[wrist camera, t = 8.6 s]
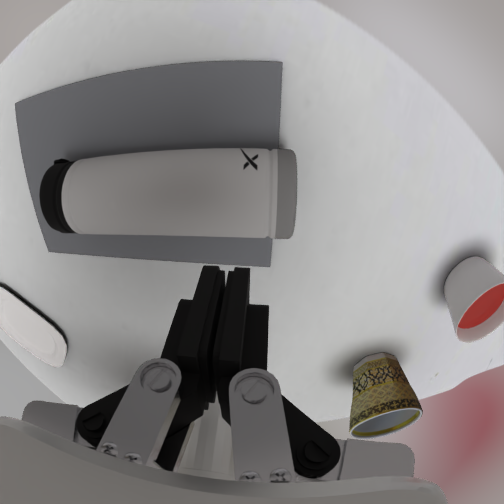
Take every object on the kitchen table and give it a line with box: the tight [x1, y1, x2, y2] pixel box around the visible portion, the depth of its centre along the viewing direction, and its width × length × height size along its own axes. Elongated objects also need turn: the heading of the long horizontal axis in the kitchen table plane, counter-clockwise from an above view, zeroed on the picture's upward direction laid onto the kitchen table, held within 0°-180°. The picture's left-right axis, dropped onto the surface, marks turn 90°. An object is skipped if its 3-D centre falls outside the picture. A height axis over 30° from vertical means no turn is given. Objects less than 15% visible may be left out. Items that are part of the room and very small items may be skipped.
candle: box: [444, 256, 504, 343], centre depth 25 cm, size 9×9×6 cm
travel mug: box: [39, 148, 297, 239], centre depth 20 cm, size 6×7×20 cm
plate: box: [0, 286, 67, 367], centre depth 39 cm, size 18×18×2 cm
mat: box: [15, 61, 283, 267], centre depth 23 cm, size 18×26×1 cm
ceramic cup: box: [349, 352, 423, 439], centre depth 34 cm, size 13×10×10 cm
